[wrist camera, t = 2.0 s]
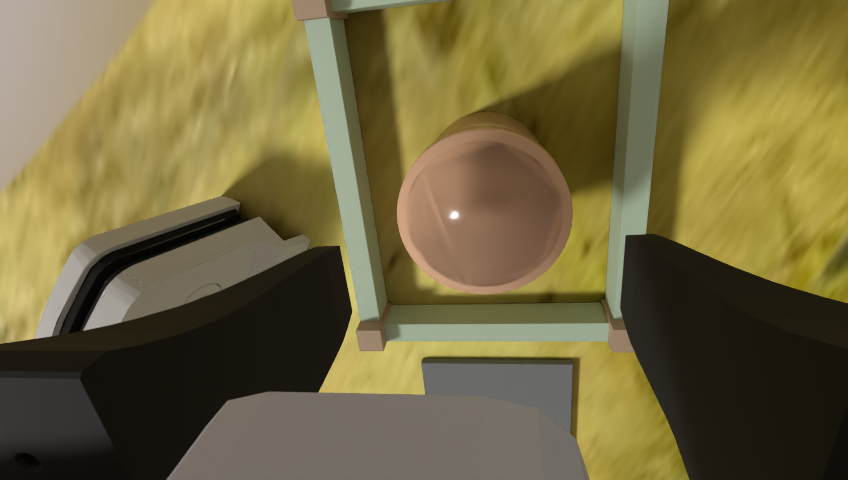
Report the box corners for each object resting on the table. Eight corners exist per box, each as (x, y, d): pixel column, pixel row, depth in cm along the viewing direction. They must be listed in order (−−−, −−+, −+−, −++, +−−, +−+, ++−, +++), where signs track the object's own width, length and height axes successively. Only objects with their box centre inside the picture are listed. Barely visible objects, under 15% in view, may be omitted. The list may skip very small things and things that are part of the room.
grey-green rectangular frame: (657, -58, 16) (684, -74, 14) (625, 319, 23) (640, 352, 20) (314, -11, 18) (288, -18, 16) (372, 321, 25) (359, 351, 22)
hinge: (239, 438, 30) (73, 569, 22) (191, 394, 31) (16, 501, 23) (313, 233, 23) (108, 304, 14) (247, 186, 24) (23, 226, 16)
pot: (552, 98, 19) (575, 123, 14) (551, 227, 21) (570, 292, 16) (415, 110, 20) (386, 138, 14) (428, 232, 22) (407, 295, 17)
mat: (571, 359, 24) (572, 364, 24) (568, 455, 27) (569, 461, 26) (422, 358, 25) (421, 363, 25) (434, 450, 28) (433, 455, 28)
